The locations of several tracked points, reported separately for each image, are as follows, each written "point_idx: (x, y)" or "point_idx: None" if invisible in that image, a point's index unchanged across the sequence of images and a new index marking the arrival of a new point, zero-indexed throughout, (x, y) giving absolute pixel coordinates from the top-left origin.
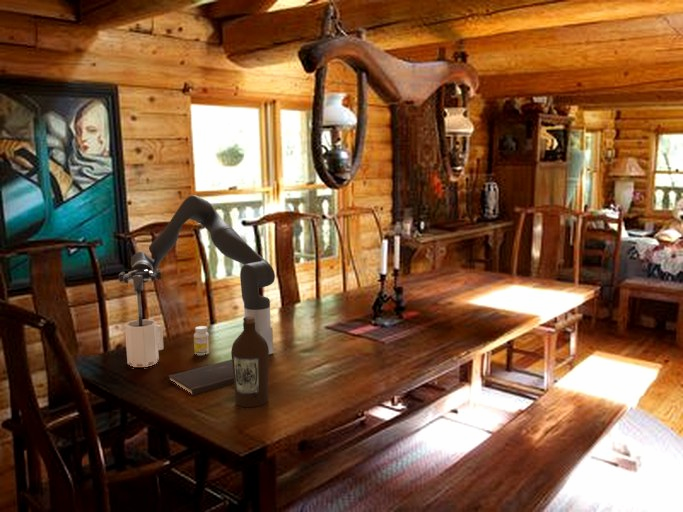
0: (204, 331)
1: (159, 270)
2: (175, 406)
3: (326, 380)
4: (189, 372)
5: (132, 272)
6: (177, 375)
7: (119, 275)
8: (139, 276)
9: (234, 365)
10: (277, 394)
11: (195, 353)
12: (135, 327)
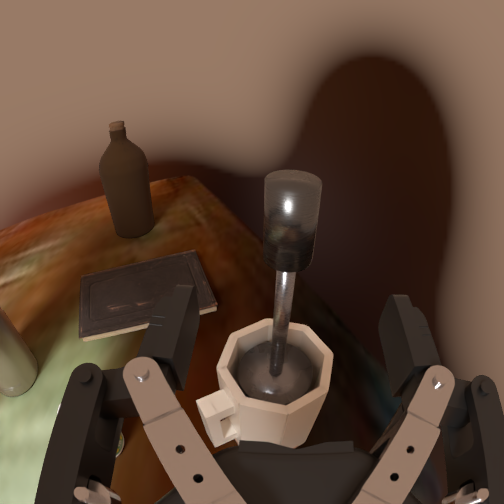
0: None
1: (49, 490)
2: (224, 236)
3: (36, 247)
4: None
5: (396, 434)
6: (202, 299)
7: (484, 378)
8: (280, 170)
9: (148, 175)
10: (101, 233)
11: (123, 437)
12: (292, 323)
